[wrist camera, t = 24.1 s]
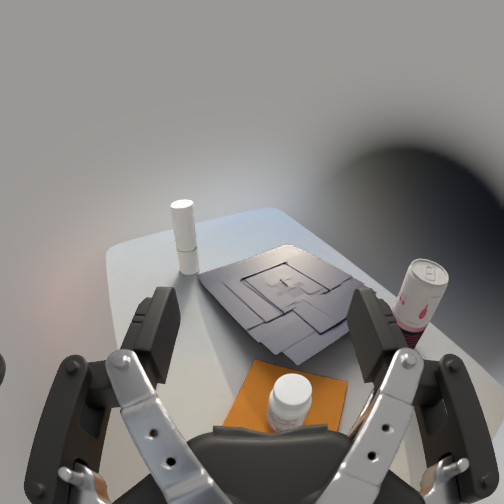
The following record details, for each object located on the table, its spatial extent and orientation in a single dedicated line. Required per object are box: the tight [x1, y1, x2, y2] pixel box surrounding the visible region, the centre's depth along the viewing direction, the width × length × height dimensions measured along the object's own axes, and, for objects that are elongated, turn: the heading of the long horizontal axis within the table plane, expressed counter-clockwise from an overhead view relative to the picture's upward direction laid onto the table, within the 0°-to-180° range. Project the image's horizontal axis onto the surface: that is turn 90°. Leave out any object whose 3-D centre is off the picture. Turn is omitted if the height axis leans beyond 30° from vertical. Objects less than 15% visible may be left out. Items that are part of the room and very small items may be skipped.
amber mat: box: [222, 359, 347, 433], centre depth 30 cm, size 16×14×1 cm
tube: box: [171, 200, 200, 275], centre depth 54 cm, size 4×4×15 cm
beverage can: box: [392, 259, 449, 349], centre depth 36 cm, size 7×7×15 cm
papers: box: [196, 244, 378, 365], centre depth 50 cm, size 24×30×4 cm
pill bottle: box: [267, 374, 312, 432], centre depth 28 cm, size 5×5×8 cm
